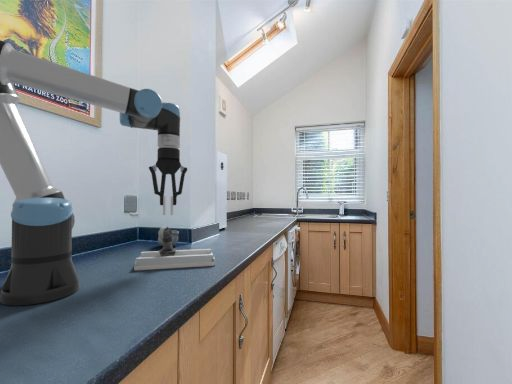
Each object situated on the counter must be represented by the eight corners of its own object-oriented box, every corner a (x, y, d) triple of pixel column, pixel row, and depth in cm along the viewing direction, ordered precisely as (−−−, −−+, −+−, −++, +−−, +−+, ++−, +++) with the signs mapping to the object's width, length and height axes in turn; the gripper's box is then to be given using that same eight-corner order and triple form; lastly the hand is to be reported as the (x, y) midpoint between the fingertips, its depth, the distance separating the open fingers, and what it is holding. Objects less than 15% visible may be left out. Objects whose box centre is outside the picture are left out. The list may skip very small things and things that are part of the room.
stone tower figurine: (166, 258, 100) (166, 225, 100) (179, 259, 98) (179, 226, 98) (155, 261, 94) (155, 227, 95) (169, 263, 92) (169, 227, 92)
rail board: (134, 270, 88) (134, 259, 88) (140, 261, 99) (140, 251, 100) (215, 265, 94) (215, 255, 94) (211, 257, 106) (211, 248, 106)
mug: (180, 244, 134) (181, 224, 134) (175, 249, 122) (175, 227, 122) (161, 244, 134) (161, 224, 134) (152, 249, 121) (153, 227, 121)
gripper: (144, 145, 91) (144, 215, 91) (190, 147, 95) (189, 215, 95) (147, 149, 98) (147, 214, 98) (190, 150, 102) (189, 213, 102)
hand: (168, 214), depth 96 cm, fingers open, 2 cm apart
